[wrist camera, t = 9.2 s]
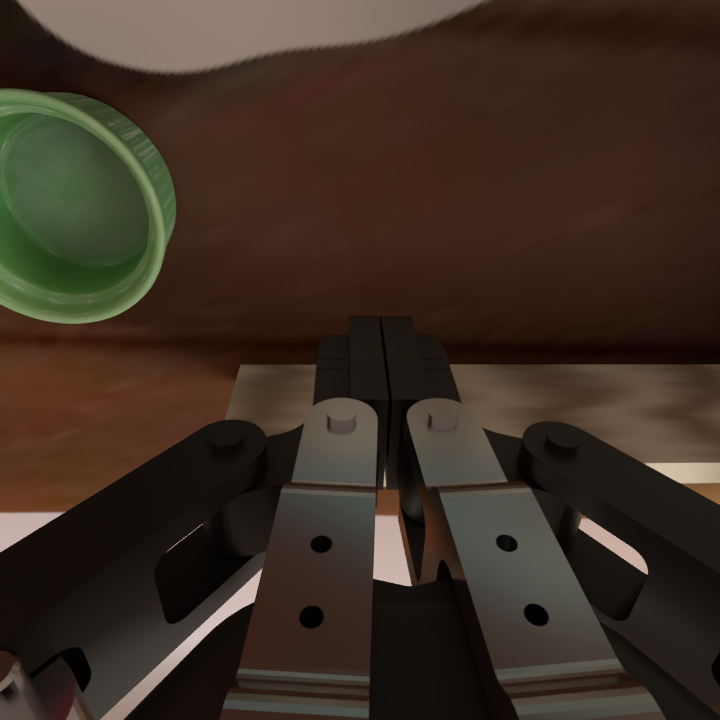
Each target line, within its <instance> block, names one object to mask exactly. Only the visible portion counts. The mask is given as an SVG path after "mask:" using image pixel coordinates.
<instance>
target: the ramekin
mask: <svg viewBox="0 0 720 720" xmlns="http://www.w3.org/2000/svg"><path fill="white" fill-rule="evenodd" d="M175 217H176V197H175V191H174V186H173V183H172V179H171V176H170V173H169V171H168V168H167V166H166V164H165V162H164V160H163V158H162V156H161V155H160V153H159V151H158V150H157V149H156V147H155V146H154V145H153V143H152V142H151V141H150V139H149V138H148V137H147V136H146V135H145V134H144V133H143V131H142V130H141V129H140V128H139V127H138V126H136V125H135V124H134V123H133V122H132V121H131V120H129V119H128V118H127V117H126V116H124V115H123V114H121V113H120V112H118V111H117V110H115V109H114V108H112V107H111V106H109V105H107V104H105V103H103V102H100V101H98V100H95V99H92V98H89V97H86V96H83V95H77V94H72V93H60V92H44V93H43V92H38V91H32V90H25V89H13V88H0V304H1V305H3V306H5V307H7V308H9V309H11V310H13V311H15V312H18V313H21V314H23V315H26V316H29V317H32V318H36V319H40V320H45V321H49V322H56V323H69V324H78V323H90V322H95V321H100V320H104V319H107V318H110V317H113V316H116V315H118V314H120V313H122V312H124V311H125V310H127V309H129V308H130V307H132V306H133V305H134V304H136V303H137V302H138V301H139V300H140V299H141V298H142V297H143V296H144V295H145V294H146V293H147V292H148V291H149V289H150V288H151V287H152V285H153V284H154V282H155V280H156V278H157V276H158V274H159V272H160V269H161V266H162V263H163V259H164V255H165V250H166V246H167V244H168V242H169V240H170V237H171V234H172V231H173V228H174V225H175Z"/></svg>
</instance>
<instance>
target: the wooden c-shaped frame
mask: <svg viewBox="0 0 720 720" xmlns="http://www.w3.org/2000/svg"><path fill="white" fill-rule="evenodd" d="M450 367H451V372H452V374H453V377H454V380H455V383H456V386H457V389H458V393H459V396H460V399H461V402H462V404H464V405H465V406H467V407H469V408H470V409H471V410H472V411H473V412H474V413H475V414H476V416H477V417H478V419H479V422H480V424H481V426H482V427H483V428H485V429H487V430H490V431H493V432H496V433H500V434H504V435H509V436H514V437H518V438H522V437H523V433H524V431H525V430H526V428H528V427H529V426H530V425H532V424H534V423H538V422H543V421H556V422H562V423H566V424H570V425H573V426H575V427H578V428H580V429H582V430H584V431H586V432H587V433H589V434H591V435H593V436H595V437H596V438H598V439H600V440H602V441H604V442H606V443H607V444H609V445H611V446H613V447H615V448H617V449H618V450H620V451H622V452H624V453H626V454H627V455H629V456H631V457H633V458H635V459H637V460H638V461H640V462H642V463H644V464H646V465H647V466H649V467H651V468H653V469H655V470H657V471H658V472H660V473H662V474H664V475H666V476H668V477H669V478H671V479H673V480H675V481H677V482H678V483H720V364H450ZM315 373H316V365H240V368H239V371H238V375H237V379H236V382H235V386H234V389H233V393H232V397H231V400H230V404H229V407H228V411H227V414H226V418H225V420H232V419H234V420H245V421H248V422H252V423H254V424H256V425H257V426H259V427H260V428H261V429H262V430H263V431H264V433H265V435H266V437H268V436H272V435H277V434H281V433H285V432H288V431H290V430H293V429H295V428H297V427H299V426H300V425H302V424H303V423H304V422H305V418H306V415H307V413H308V411H309V410H310V409H311V408H312V407H313V397H314V385H315ZM384 486H386V479H385V471H384Z"/></svg>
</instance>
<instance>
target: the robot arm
mask: <svg viewBox="0 0 720 720" xmlns="http://www.w3.org/2000/svg"><path fill="white" fill-rule="evenodd" d="M384 471H385V479H386V489H398V490H399V498H400V501H399V513H398V522H399V526H400V531H401V536H402V540H403V546H404V550H405V555H406V560H407V565H408V570H409V574H410V578H411V584H412V586H403V585H399V584H394V583H389V582H385V581H380V580H375V579H373V564H374V562H373V561H374V534H375V533H374V532H375V531H374V530H375V510H376V506H377V492H378V490H383V487H384ZM582 515H584V516H586V517H587V518H589V519H590V520H592V521H593V522H595V523H596V524H598V525H599V526H601V527H602V528H604V529H605V530H607V531H608V532H610V533H611V534H613V535H614V536H616V537H617V538H619V539H620V540H622V541H623V542H625V543H626V544H628V545H630V546H631V547H632V548H634V549H635V550H636V551H637V552H638V553H639V554H640V555H641V556H642V557H643V559H644V560H645V562H646V564H647V567H648V575H647V574H645V573H643V572H641V571H640V570H639V569H637V568H635V567H634V566H633V565H631V564H630V563H628V562H627V561H625V560H624V559H622V558H621V557H620V556H618V555H617V554H615V553H614V552H612V551H611V550H609V549H608V548H606V547H605V546H603V545H602V544H601V543H599V542H598V541H596V540H595V539H593V538H592V537H590V536H589V535H587V534H586V533H584V532H583V531H581V530H580V529H579V528H578V527H579V524H580V521H581V518H582ZM201 524H202V525H201ZM200 525H201V526H200ZM199 526H200V527H199ZM197 527H199V528H197ZM196 528H197V529H196ZM195 529H196V530H195ZM193 530H195V531H193ZM192 531H193V532H192ZM191 532H192V533H191ZM189 533H191V534H190V535H188V534H189ZM187 535H188V536H187ZM185 536H187V537H186V538H184V537H185ZM183 538H184V539H183ZM182 539H183V540H182ZM180 540H182V541H180ZM179 541H180V542H179ZM178 542H179V543H178ZM176 543H178V544H177V545H175V544H176ZM174 545H175V546H174ZM173 546H174V547H173ZM171 547H173V548H171ZM170 548H171V549H170ZM169 549H170V550H169ZM168 550H169V551H168ZM262 568H263V569H262ZM261 569H262V573H261V577H260V582H259V586H258V590H257V594H256V599H255V602H254V603H252V604H250V605H248V606H246V607H244V608H242V609H240V610H239V611H237V612H235V613H234V614H233V615H231V616H229V617H228V618H226V619H225V620H224V621H223V622H221V623H220V624H219V625H218V626H216V627H215V628H214V629H213V630H212V631H211V632H210V633H209V634H208V635H207V636H206V637H205V638H204V639H203V640H202V641H201V642H200V643H199V644H198V645H197V646H196V647H195V648H194V649H193V650H192V651H191V652H190V653H189V654H188V655H187V656H186V657H185V658H184V659H183V660H182V661H181V662H180V663H179V664H178V665H177V666H176V667H175V668H174V669H173V670H172V671H171V672H170V673H169V674H168V675H167V676H166V677H165V678H164V679H163V680H162V681H161V682H160V683H159V684H158V685H157V686H156V687H155V688H154V689H153V690H152V691H151V692H150V693H149V694H148V695H147V696H146V697H145V698H144V700H142V701H141V702H140V703H139V704H138V706H136V708H135V709H134V710H133V711H132V712H131V713H130V714H129V715H128V716H127V717H126V718H125V719H124V720H720V505H719V504H717V503H715V502H713V501H711V500H709V499H708V498H706V497H704V496H702V495H700V494H698V493H697V492H695V491H693V490H691V489H689V488H688V487H686V486H684V485H682V484H680V483H678V482H677V481H675V480H673V479H671V478H669V477H668V476H666V475H664V474H662V473H660V472H658V471H657V470H655V469H653V468H651V467H649V466H647V465H646V464H644V463H642V462H640V461H638V460H637V459H635V458H633V457H631V456H629V455H627V454H626V453H624V452H622V451H620V450H618V449H617V448H615V447H613V446H611V445H609V444H607V443H606V442H604V441H602V440H600V439H598V438H596V437H595V436H593V435H591V434H589V433H587V432H586V431H584V430H582V429H580V428H578V427H575V426H573V425H570V424H566V423H562V422H556V421H543V422H538V423H534V424H532V425H530V426H529V427H528V428H526V430H525V431H524V433H523V437H522V438H518V437H514V436H509V435H504V434H500V433H496V432H493V431H490V430H487V429H485V428H483V427H482V426H481V424H480V422H479V419H478V417H477V416H476V414H475V413H474V412H473V411H472V410H471V409H470V408H469V407H467V406H465V405H464V404H462V402H461V399H460V396H459V393H458V389H457V386H456V383H455V380H454V377H453V374H452V372H451V367H450V364H449V361H448V358H447V355H446V352H445V349H444V346H443V345H441V344H440V343H439V342H438V341H437V340H436V339H435V338H434V337H433V336H415V332H414V328H413V324H412V320H411V316H381V317H380V323H379V316H349V335H327V336H326V337H325V338H324V339H323V341H322V342H321V343H320V344H319V345H318V348H317V361H316V373H315V385H314V397H313V407H312V408H311V409H310V410H309V411H308V413H307V415H306V418H305V422H304V423H303V424H302V425H300V426H299V427H297V428H295V429H293V430H290V431H288V432H285V433H281V434H277V435H272V436H268V437H266V435H265V433H264V431H263V430H262V429H261V428H260V427H259V426H257V425H256V424H254V423H252V422H248V421H245V420H234V419H232V420H223V421H218V422H215V423H212V424H209V425H207V426H205V427H203V428H201V429H200V430H198V431H196V432H195V433H193V434H192V435H190V436H188V437H187V438H185V439H184V440H182V441H180V442H179V443H177V444H175V445H174V446H172V447H171V448H169V449H167V450H166V451H164V452H162V453H161V454H159V455H158V456H156V457H154V458H153V459H151V460H149V461H148V462H146V463H145V464H143V465H141V466H140V467H138V468H137V469H135V470H133V471H132V472H130V473H128V474H127V475H125V476H124V477H122V478H120V479H119V480H117V481H115V482H114V483H112V484H111V485H109V486H107V487H106V488H104V489H102V490H101V491H99V492H98V493H96V494H94V495H93V496H91V497H90V498H88V499H86V500H85V501H83V502H81V503H80V504H78V505H77V506H75V507H73V508H72V509H70V510H68V511H67V512H65V513H64V514H62V515H60V516H59V517H57V518H56V519H54V520H52V521H51V522H49V523H47V524H46V525H44V526H43V527H41V528H39V529H38V530H36V531H34V532H33V533H31V534H30V535H28V536H27V537H25V538H23V539H21V540H20V541H18V542H17V543H15V544H14V545H12V546H10V547H8V548H7V549H5V550H4V551H2V552H0V720H100V719H101V718H102V717H103V716H104V715H105V714H106V713H107V712H108V711H109V710H110V709H111V708H112V707H114V706H115V705H116V704H117V703H118V702H119V701H120V700H121V699H122V698H123V697H124V696H125V695H127V694H128V693H129V692H130V691H131V690H132V689H133V688H134V687H135V686H136V685H137V684H138V683H139V682H141V681H142V680H143V679H144V678H145V677H146V676H147V675H148V674H149V673H150V672H151V671H152V670H153V669H154V668H155V667H157V665H159V664H160V663H161V662H162V661H163V660H164V659H165V658H166V657H167V656H168V655H169V654H170V653H172V652H173V651H174V650H175V649H176V648H177V647H178V646H179V645H180V644H181V643H182V642H183V641H185V640H186V639H187V638H188V637H189V636H190V635H191V634H192V633H193V632H194V631H195V630H196V629H197V628H198V627H200V626H201V625H202V624H203V623H204V622H205V621H206V620H207V619H208V618H209V617H210V616H211V615H212V614H214V613H215V612H216V611H217V610H218V609H219V608H220V607H221V606H222V605H223V604H224V603H225V602H226V601H227V600H229V598H231V597H232V596H233V595H234V594H235V593H236V592H237V591H238V590H239V589H240V588H241V587H243V585H245V584H246V583H247V582H248V581H249V580H250V579H251V578H252V577H253V576H254V575H255V574H256V573H258V572H259V571H260V570H261Z"/></svg>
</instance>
